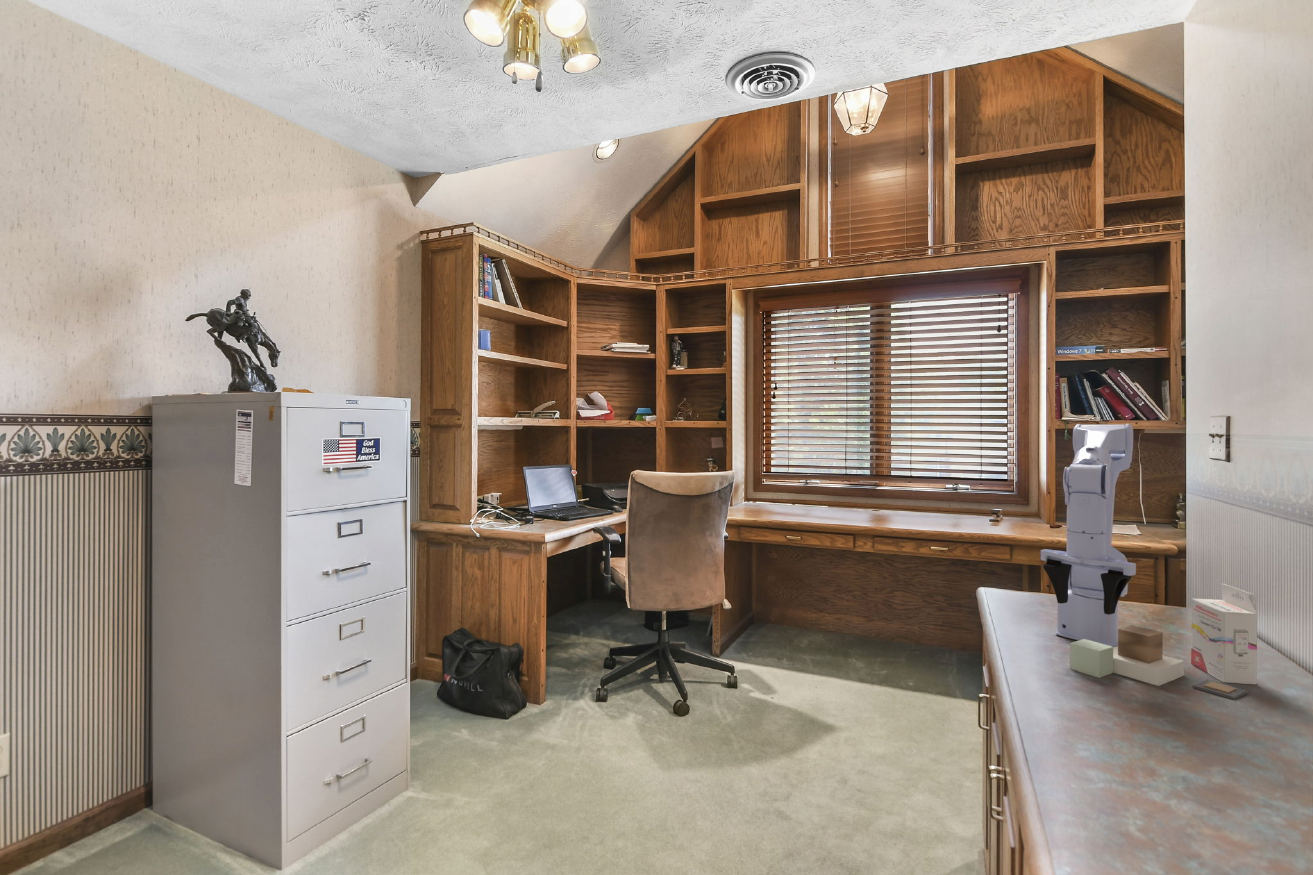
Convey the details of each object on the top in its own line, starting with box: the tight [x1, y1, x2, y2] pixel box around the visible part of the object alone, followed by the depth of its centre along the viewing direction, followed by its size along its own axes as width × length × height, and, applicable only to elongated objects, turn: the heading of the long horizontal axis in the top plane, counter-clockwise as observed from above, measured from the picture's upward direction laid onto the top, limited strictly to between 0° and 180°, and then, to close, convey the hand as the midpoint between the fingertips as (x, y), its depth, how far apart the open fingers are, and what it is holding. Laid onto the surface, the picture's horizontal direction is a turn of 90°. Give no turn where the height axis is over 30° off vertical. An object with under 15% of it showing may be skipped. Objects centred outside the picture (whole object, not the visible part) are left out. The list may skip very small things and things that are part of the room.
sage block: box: [1069, 639, 1113, 679], centre depth 104 cm, size 4×4×4 cm
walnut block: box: [1117, 624, 1164, 663], centre depth 104 cm, size 4×4×4 cm
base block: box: [1112, 645, 1185, 687], centre depth 104 cm, size 9×9×3 cm
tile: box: [1192, 679, 1249, 701], centre depth 96 cm, size 5×5×1 cm
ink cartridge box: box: [1190, 582, 1258, 685], centre depth 103 cm, size 9×5×15 cm, turn 168°
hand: (1085, 607), depth 109 cm, fingers open, 7 cm apart
